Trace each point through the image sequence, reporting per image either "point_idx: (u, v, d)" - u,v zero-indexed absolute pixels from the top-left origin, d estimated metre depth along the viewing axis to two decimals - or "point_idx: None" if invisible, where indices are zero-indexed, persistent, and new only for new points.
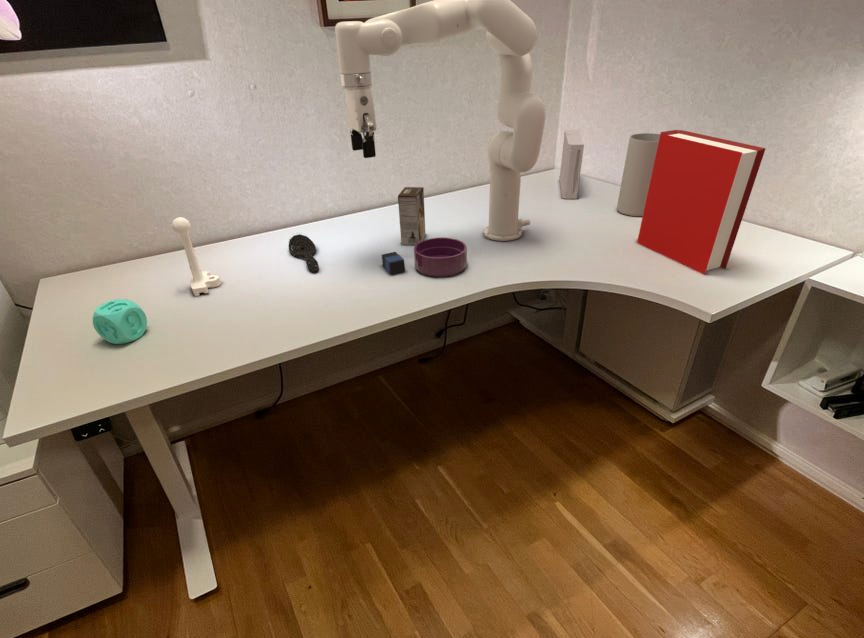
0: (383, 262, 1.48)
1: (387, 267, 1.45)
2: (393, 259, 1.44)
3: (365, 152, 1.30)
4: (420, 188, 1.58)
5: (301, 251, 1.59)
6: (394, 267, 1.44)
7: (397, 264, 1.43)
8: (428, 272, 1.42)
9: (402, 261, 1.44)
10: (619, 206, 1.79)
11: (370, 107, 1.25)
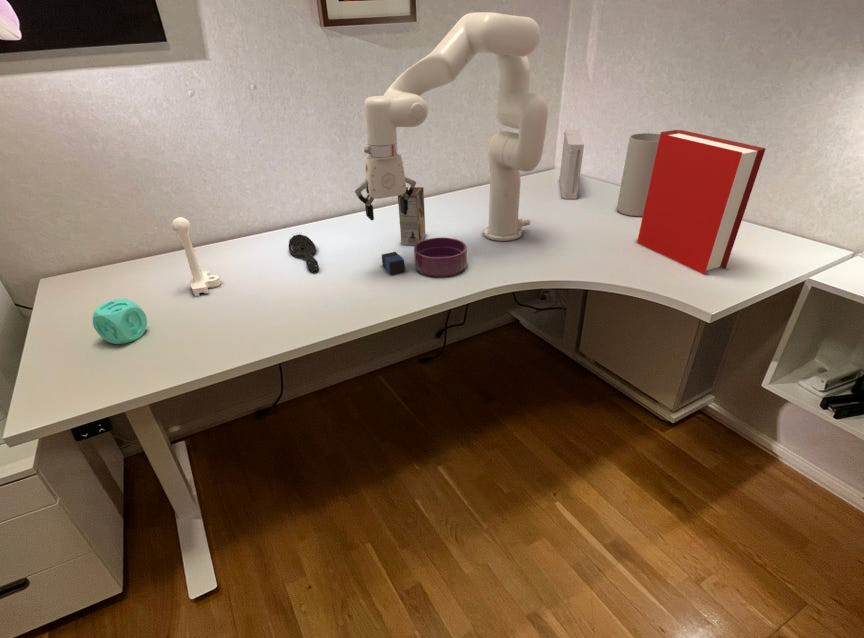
0: (383, 262, 1.48)
1: (387, 267, 1.45)
2: (393, 259, 1.44)
3: None
4: (420, 188, 1.58)
5: (301, 251, 1.59)
6: (394, 267, 1.44)
7: (397, 264, 1.43)
8: (428, 272, 1.42)
9: (402, 261, 1.44)
10: (619, 206, 1.79)
11: (369, 176, 1.29)
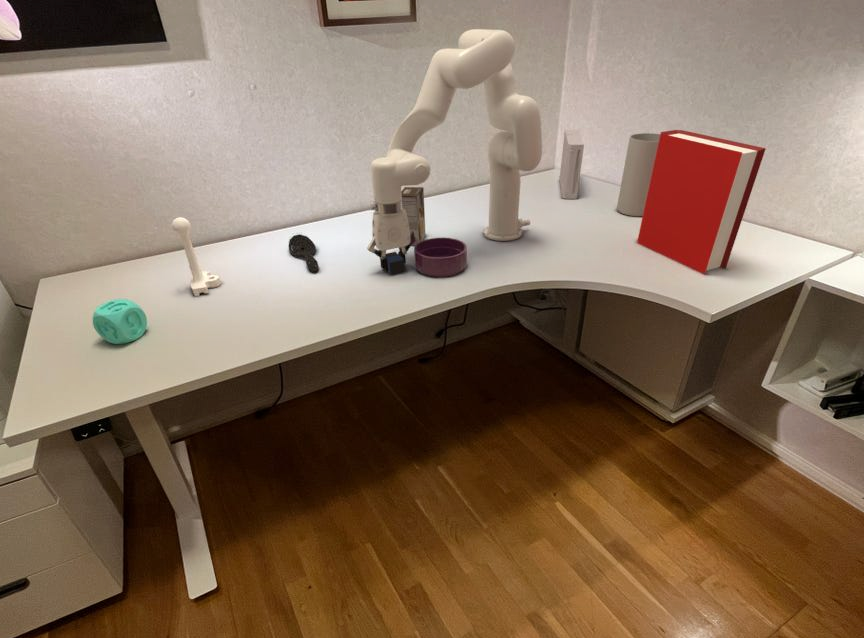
0: None
1: None
2: (393, 259, 1.44)
3: None
4: (420, 188, 1.58)
5: (301, 251, 1.59)
6: (394, 267, 1.44)
7: (397, 264, 1.43)
8: (428, 272, 1.42)
9: (402, 261, 1.44)
10: (619, 206, 1.79)
11: (376, 230, 1.37)
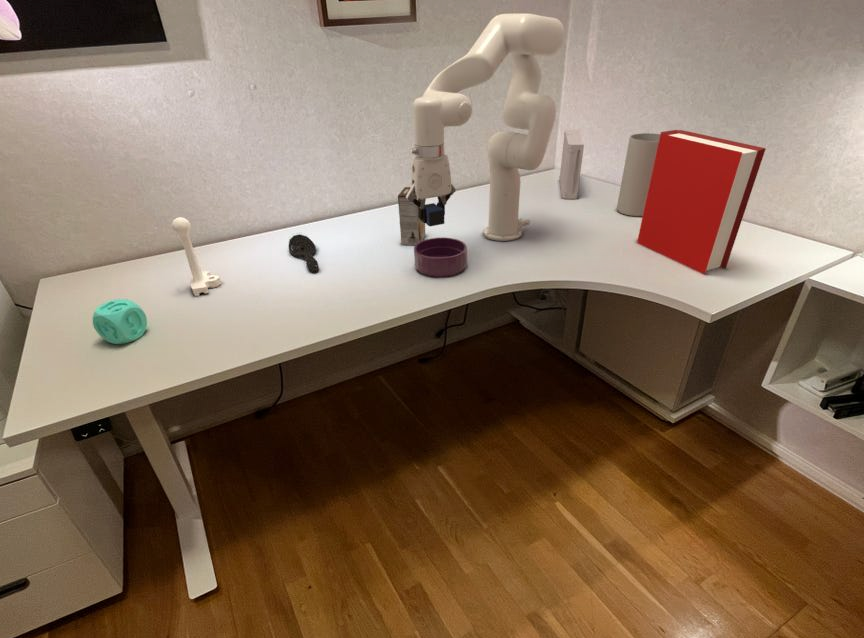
0: None
1: None
2: (433, 209, 1.36)
3: None
4: None
5: (301, 251, 1.59)
6: (433, 218, 1.36)
7: (437, 215, 1.36)
8: (428, 272, 1.42)
9: (442, 211, 1.36)
10: (619, 206, 1.79)
11: (416, 176, 1.30)
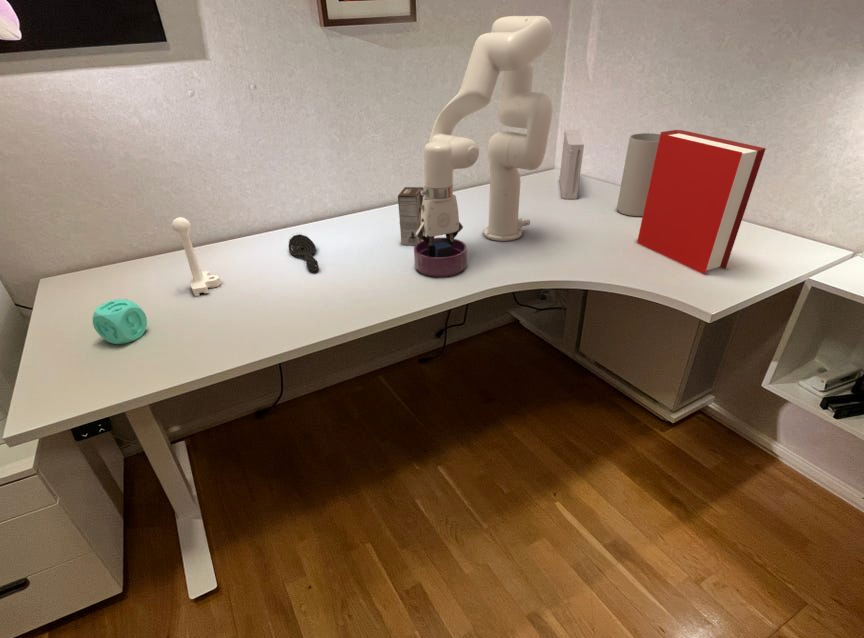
0: None
1: None
2: (441, 246, 1.42)
3: None
4: (420, 188, 1.58)
5: (301, 251, 1.59)
6: (442, 254, 1.42)
7: (445, 251, 1.42)
8: (428, 272, 1.42)
9: (450, 248, 1.42)
10: (619, 206, 1.79)
11: (425, 215, 1.36)
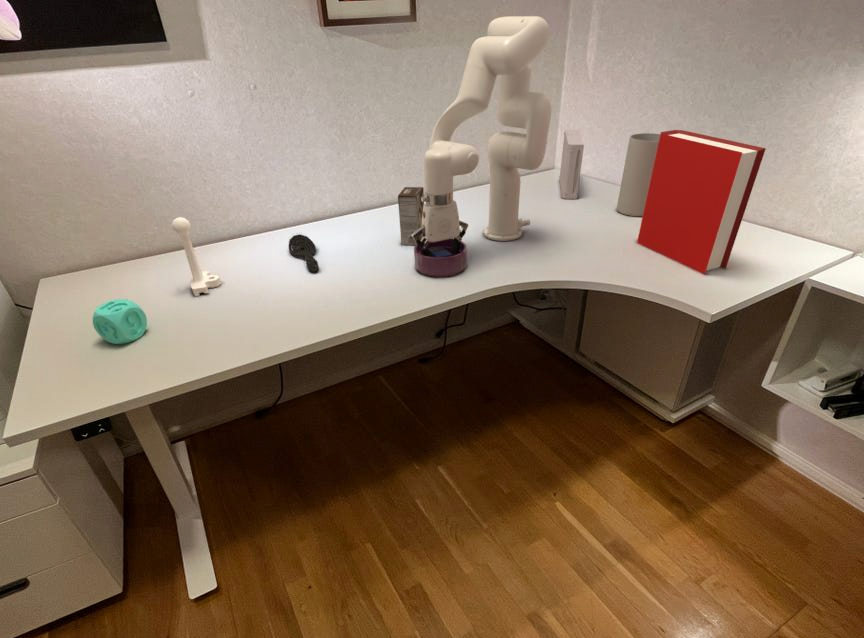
0: None
1: None
2: (441, 254, 1.44)
3: None
4: (420, 188, 1.58)
5: (301, 251, 1.59)
6: None
7: None
8: (428, 272, 1.42)
9: None
10: (619, 206, 1.79)
11: (426, 222, 1.37)
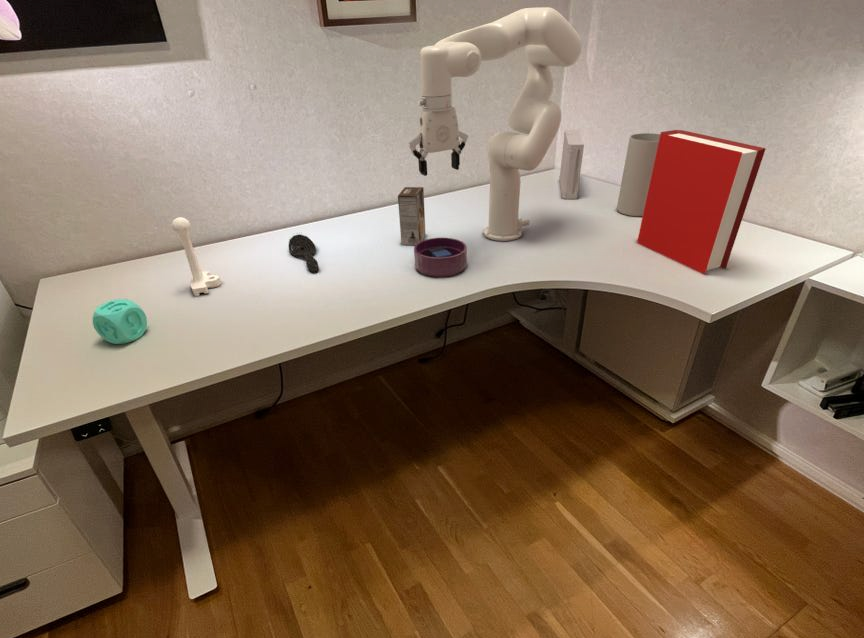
0: None
1: None
2: (441, 254, 1.44)
3: None
4: (420, 188, 1.58)
5: (301, 251, 1.59)
6: None
7: None
8: (428, 272, 1.42)
9: None
10: (619, 206, 1.79)
11: (424, 129, 1.29)
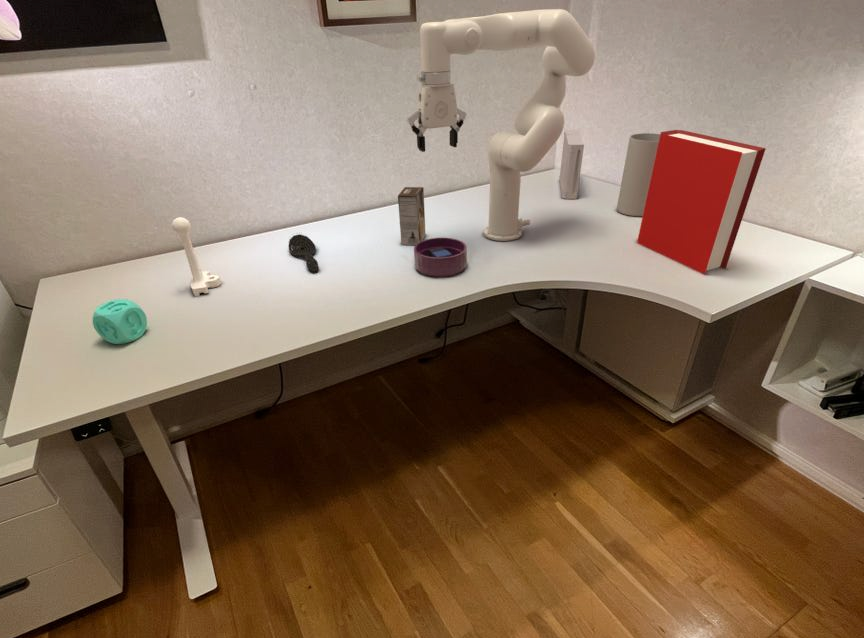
0: None
1: None
2: (441, 254, 1.44)
3: None
4: (420, 188, 1.58)
5: (301, 251, 1.59)
6: None
7: None
8: (428, 272, 1.42)
9: None
10: (619, 206, 1.79)
11: (422, 104, 1.31)
